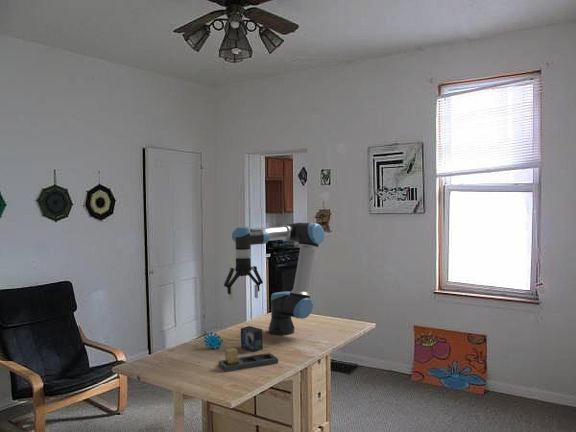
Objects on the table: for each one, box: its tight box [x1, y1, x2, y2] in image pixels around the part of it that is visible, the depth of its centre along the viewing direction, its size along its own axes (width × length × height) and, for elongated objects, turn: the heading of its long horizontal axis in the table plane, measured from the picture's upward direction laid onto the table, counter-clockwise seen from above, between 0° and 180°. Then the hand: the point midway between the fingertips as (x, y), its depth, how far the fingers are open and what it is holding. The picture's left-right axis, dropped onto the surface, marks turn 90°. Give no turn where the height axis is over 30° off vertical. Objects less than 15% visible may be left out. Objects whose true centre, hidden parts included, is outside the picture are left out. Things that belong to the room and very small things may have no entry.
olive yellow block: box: [224, 347, 239, 366], centre depth 226 cm, size 4×4×8 cm
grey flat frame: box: [218, 352, 279, 373], centre depth 230 cm, size 26×10×2 cm, turn 115°
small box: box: [240, 325, 264, 352], centre depth 254 cm, size 11×6×10 cm, turn 47°
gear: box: [203, 331, 225, 351], centre depth 257 cm, size 11×6×10 cm
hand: (243, 299), depth 248 cm, fingers open, 13 cm apart
